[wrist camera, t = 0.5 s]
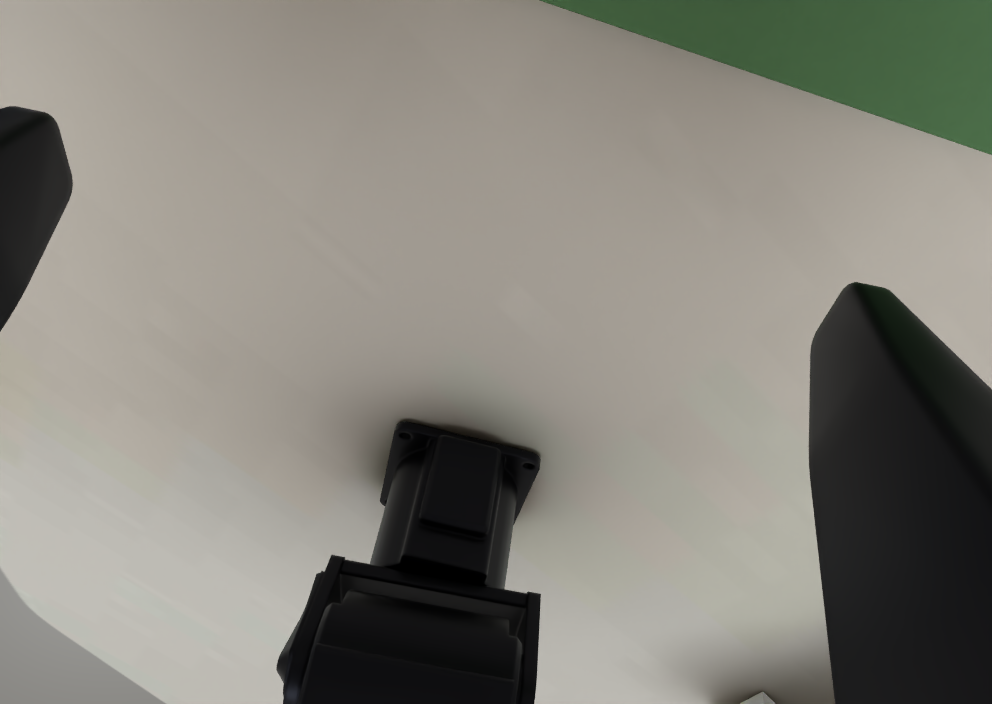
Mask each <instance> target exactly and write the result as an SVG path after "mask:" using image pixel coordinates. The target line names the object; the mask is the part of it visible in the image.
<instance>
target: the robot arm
mask: <svg viewBox="0 0 992 704" xmlns="http://www.w3.org/2000/svg"><path fill="white" fill-rule="evenodd" d="M72 186H73V182H72V174H71V170H70V167H69V163H68V159H67V156H66V152H65V148H64V145H63V141H62V137H61V134H60V130H59V127H58V124H57V122H56V121H55V119H54V118H53V117H52V116H50V115H49V114H48V113H45V112H40V111H36V110H31V109H26V108H21V107H16V106H10V107H5V108H2V109H0V331H1V330H2V328H3V327H4V325H5V324H6V322H7V320H8V319H9V317H10V316H11V314H12V312H13V311H14V309H15V307H16V306H17V304H18V302H19V301H20V299H21V297H22V295H23V293H24V291H25V289H26V288H27V286H28V284H29V282H30V280H31V278H32V275H33V273H34V271H35V269H36V267H37V265H38V263H39V261H40V259H41V257H42V255H43V253H44V251H45V249H46V247H47V245H48V243H49V240H50V238H51V236H52V234H53V232H54V230H55V228H56V226H57V224H58V222H59V220H60V218H61V216H62V214H63V212H64V210H65V208H66V205H67V203H68V201H69V199H70V196H71V193H72ZM540 460H541V459H540V457H539V456H538V455H537V454H535V453H532V452H528V451H524V450H520V449H516V448H512V447H508V446H503V445H499V444H495V443H491V442H487V441H483V440H479V439H475V438H471V437H467V436H463V435H459V434H455V433H451V432H446V431H442V430H438V429H434V428H430V427H426V426H422V425H418V424H414V423H410V422H400V423H398V424H397V426H396V428H395V432H394V436H393V441H392V446H391V450H390V455H389V460H388V465H387V469H386V474H385V479H384V484H383V488H382V493H381V498H380V502H381V503H382V505H384V506H386V507H385V510H384V514H383V518H382V521H381V525H380V529H379V532H378V536H377V540H376V543H375V547H374V551H373V554H372V558H371V562H370V564H365V563H360V562H355V561H349V560H345V557H340V556H335V555H331V558H330V560H329V563H328V565H327V568H326V570H325V571H324V572H323V571H321V573H318V574H316V577H315V580H314V584H313V587H312V590H311V593H310V596H309V599H308V602H307V605H306V607H305V610H304V612H303V614H302V616H301V618H300V620H299V622H298V624H297V625H296V627H295V629H294V631H293V633H292V634H291V636H290V638H289V640H288V642H287V643H286V645H285V647H284V649H283V651H282V652H281V654H280V656H279V659H278V663H277V672H278V674H279V675H280V677H281V679H282V681H283V683H284V687H283V695H284V700H283V704H534V700H535V691H536V680H537V661H538V640H539V619H540V598H541V594H538V593H533V592H527V594H526V593H520V592H515V591H510V590H504V587H505V580H506V573H507V566H508V558H509V551H510V544H511V537H512V530H513V525H514V523H515V521H516V519H517V516H518V514H519V512H520V510H521V508H522V506H523V503H524V501H525V499H526V497H527V495H528V493H529V490H530V488H531V486H532V484H533V482H534V480H535V478H536V475H537V473H538V471H539V468H540ZM809 468H810V481H811V490H812V499H813V508H814V517H815V526H816V535H817V544H818V553H819V563H820V572H821V581H822V590H823V599H824V608H825V617H826V626H827V635H828V644H829V653H830V662H831V671H832V680H833V689H834V698H835V704H992V389H991V388H990V387H989V386H988V385H987V384H986V383H985V382H983V381H982V380H981V379H980V378H979V377H978V376H977V375H976V374H975V373H974V372H973V371H972V370H971V369H970V368H969V367H968V366H967V365H966V364H965V363H964V362H963V361H962V360H961V359H960V358H959V357H958V356H957V355H956V354H955V353H954V352H953V351H952V350H951V349H950V348H948V347H947V346H946V345H945V344H944V343H943V342H942V341H941V340H940V339H939V338H938V337H937V336H936V335H935V334H934V333H933V332H932V331H931V330H930V329H929V328H928V327H927V326H926V325H925V324H924V323H923V322H922V321H921V320H920V319H919V318H918V317H917V316H916V315H915V314H914V313H912V312H911V311H910V310H909V309H908V308H907V307H906V306H905V305H904V304H903V303H902V302H901V301H900V300H899V299H898V298H897V297H896V296H895V295H894V294H893V293H892V292H891V291H890V290H888V289H886V288H882V287H877V286H873V285H868V284H863V283H858V282H854V283H851V284H848V285H847V286H846V287H845V288H844V289H843V290H842V292H841V293H840V295H839V296H838V298H837V299H836V301H835V303H834V304H833V306H832V307H831V309H830V311H829V312H828V314H827V315H826V317H825V318H824V320H823V322H822V323H821V325H820V326H819V328H818V330H817V331H816V333H815V336H814V338H813V341H812V345H811V353H810V409H809Z"/></svg>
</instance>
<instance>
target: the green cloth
mask: <svg viewBox="0 0 992 704" xmlns="http://www.w3.org/2000/svg"><path fill="white" fill-rule="evenodd" d="M540 1H543V2H546V3H549V4H552V5H555V6H558V7H561V8H564V9H567V10H569V11H572V12H575V13H578V14H581V15H584V16H587V17H590V18H593V19H596V20H599V21H602V22H605V23H608V24H610V25H613V26H616V27H619V28H622V29H625V30H628V31H631V32H634V33H637V34H640V35H643V36H646V37H649V38H651V39H654V40H657V41H660V42H663V43H666V44H669V45H672V46H675V47H678V48H681V49H684V50H687V51H689V52H692V53H695V54H698V55H701V56H704V57H707V58H710V59H713V60H716V61H719V62H722V63H725V64H728V65H730V66H733V67H736V68H739V69H742V70H745V71H748V72H751V73H754V74H757V75H760V76H763V77H766V78H768V79H771V80H774V81H777V82H780V83H783V84H786V85H789V86H792V87H795V88H798V89H801V90H804V91H807V92H809V93H812V94H815V95H818V96H821V97H824V98H827V99H830V100H833V101H836V102H839V103H842V104H845V105H848V106H850V107H853V108H856V109H859V110H862V111H865V112H868V113H871V114H874V115H877V116H880V117H883V118H886V119H888V120H891V121H894V122H897V123H900V124H903V125H906V126H909V127H912V128H915V129H918V130H921V131H924V132H927V133H929V134H932V135H935V136H938V137H941V138H944V139H947V140H950V141H953V142H956V143H959V144H962V145H965V146H968V147H970V148H973V149H976V150H979V151H982V152H985V153H988V154H991V155H992V0H540Z"/></svg>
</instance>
